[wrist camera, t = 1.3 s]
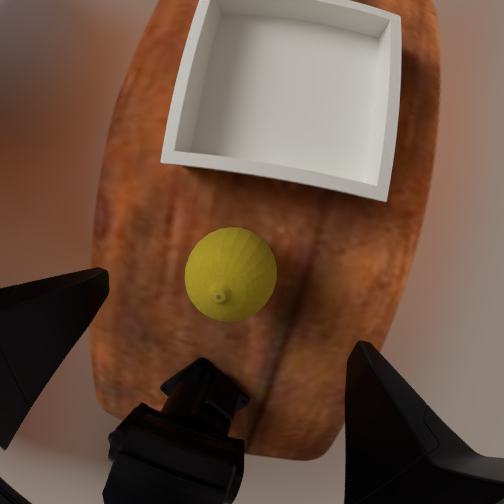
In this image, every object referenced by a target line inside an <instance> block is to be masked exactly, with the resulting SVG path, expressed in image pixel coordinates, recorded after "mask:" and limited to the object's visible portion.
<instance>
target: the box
mask: <svg viewBox="0 0 504 504" xmlns="http://www.w3.org/2000/svg"><path fill="white" fill-rule="evenodd" d="M400 87H401V16H399V15H396V14H393V13H390V12H387V11H384V10H381V9H378V8H375V7H371V6H368V5H365V4H361V3H357V2H354V1H350V0H199V3H198V6H197V9H196V12H195V15H194V18H193V22H192V25H191V28H190V31H189V35H188V38H187V42H186V45H185V49H184V53H183V56H182V60H181V64H180V68H179V72H178V76H177V80H176V84H175V89H174V93H173V98H172V102H171V107H170V112H169V117H168V122H167V127H166V133H165V138H164V144H163V150H162V156H161V163H166V164H172V165H178V166H185V167H194V168H202V169H210V170H217V171H225V172H232V173H238V174H245V175H251V176H257V177H264V178H269V179H275V180H281V181H286V182H292V183H297V184H302V185H307V186H312V187H317V188H322V189H327V190H332V191H336V192H341V193H345V194H350V195H354V196H358V197H362V198H367V199H372V200H377V201H383V202H387V196H388V191H389V185H390V179H391V173H392V166H393V159H394V152H395V144H396V136H397V126H398V116H399V103H400Z"/></svg>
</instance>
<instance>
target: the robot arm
mask: <svg viewBox="0 0 504 504" xmlns="http://www.w3.org/2000/svg"><path fill="white" fill-rule="evenodd" d="M108 294H109V274H108V271H107V270H105V269H102V268H99V267H96V268H92V269H87V270H82V271H78V272H73V273H68V274H63V275H59V276H54V277H50V278H46V279H41V280H36V281H32V282H27V283H23V284H19V285H13V286H9V287H4V288H0V447H1V448H2V449H3V450H6V449H7V447H8V446H9V444H10V442H11V440H12V439H13V437H14V435H15V433H16V431H17V430H18V428H19V427H20V425H21V423H22V422H23V420H24V418H25V417H26V415H27V414H28V412H29V411H30V407H32V406H33V404H34V402H35V401H36V399H37V398H38V396H39V395H40V393H41V392H42V390H43V388H44V387H45V386H46V384H47V383H48V381H49V380H50V378H51V377H52V375H53V374H54V373H55V371H56V370H57V368H58V367H59V365H60V364H61V363H62V361H63V360H64V359H65V357H66V355H67V354H68V353H69V352H70V350H71V349H72V348H73V346H74V345H75V344H76V342H77V341H78V339H79V338H80V337H81V335H82V334H83V333H84V331H85V330H86V329H87V328H88V326H89V325H90V323H91V322H92V320H93V318H94V317H95V315H96V314H97V312H98V310H99V309H100V307H101V306H102V304H103V302H104V301H105V299H106V298H107V296H108ZM200 362H202V363H203V364H200ZM166 388H167V389H166ZM160 389H161V390H162V392H164V393H165V394H166V395H167V396H168V399H167V401H166V403H165V405H164V406H163V408H162V410H161V412H160V411H157V410H155V409H153V408H151V407H148V405H147V404H144V403H141V404H140V405H139V406H138V407H137V408H135V409H134V410H133V411H132V412H131V413H130V414H129V415H128V416H127V417H126V418H125V419H124V420H123V421H122V423H121V424H120V425H119V426H118V427H117V428H116V430H115V431H113V432H111V433H110V434H109V437H108V440H109V443H110V450H109V454H108V459H109V461H111V462H113V464H112V467H111V470H110V473H109V476H108V479H107V482H106V485H105V488H104V490H103V493H102V495H103V500H104V504H232V503H233V501H234V500H235V498H236V496H237V493H238V491H239V488H240V485H241V482H242V478H243V473H244V440H242V439H234V438H231V437H228V432H229V428H230V424H231V421H232V420H233V418H234V414H235V411H237V410H239V409H241V408H243V407H245V406H246V405H248V404H249V402H250V398H249V397H248V396H247V395H246V394H245V393H243V392H242V391H241V390H240V389H239V388H238V387H237V386H236V385H235V384H234V383H232V382H231V381H230V380H229V379H228V378H227V377H226V376H224V375H223V374H222V373H221V372H219V371H218V370H217V369H216V368H215V367H214V366H213V365H211V364H210V363H209V362H208V361H207V360H206V359H205V358H198V359H197V360H195V361H194V362H193V363H191V364H190V365H188V366H187V367H186V368H184V369H183V370H181V371H180V372H179V373H177V374H176V375H174V376H173V377H171V378H170V379H169V380H167V381H166V382H164V383H163V384H162V385H161V387H160ZM243 400H246V401H243ZM345 435H346V438H345V439H346V464H345V465H346V466H345V470H346V471H345V498H344V504H504V458H495V457H486V456H483V455H480V454H478V453H477V452H475V451H474V450H473V449H471V448H470V447H469V446H468V445H467V444H466V443H465V442H464V441H463V440H462V439H461V438H460V437H458V435H457V434H456V433H454V432H453V431H452V430H451V429H450V428H449V427H448V426H447V425H446V424H445V423H444V422H443V421H442V420H441V419H440V418H439V417H438V416H437V415H436V413H435V412H434V411H433V410H432V409H431V408H430V407H429V406H428V405H427V404H426V402H425V401H424V400H423V399H422V398H421V397H420V396H419V395H418V394H417V393H416V392H415V390H414V389H413V388H412V387H411V386H410V385H409V384H408V383H407V382H406V381H405V379H404V378H403V377H402V376H401V375H400V374H399V373H398V372H397V371H396V370H395V369H394V368H393V367H392V365H391V364H390V363H389V362H388V361H387V360H386V359H385V358H384V357H383V356H382V355H381V354H380V353H379V352H378V350H377V349H376V348H375V347H374V346H373V345H372V344H371V343H370V342H366V341H358V342H357V343H356V345H355V347H354V349H353V351H352V352H351V354H350V356H349V358H348V361H347V372H346V387H345ZM0 504H32V503H31V502H29V501H28V500H27V499H25V498H24V497H23V496H22V495H20V494H19V493H18V492H17V491H16V490H14V489H13V488H12V487H11V486H10V485H8V484H7V483H6V482H5V481H4V480H3V479H2V478H1V477H0Z"/></svg>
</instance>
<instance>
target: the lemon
mask: <svg viewBox="0 0 504 504" xmlns="http://www.w3.org/2000/svg"><path fill="white" fill-rule="evenodd" d="M276 280H277V265H276V261H275V257H274V254H273V252H272V251H271V249H270V247H269V245H268V244H267V243H266V242H265V241H264V240H263V239H262V238H261V237H260V236H258V235H257V234H255V233H254V232H252V231H249V230H246V229H243V228H235V227H229V228H223V229H218V230H216V231H214V232H212V233H210V234H208V235H207V236H205V237H204V238H203V239H202V240H201V241H200V242H198V244H197V245H196V246H195V248H194V249H193V251H192V252H191V254H190V256H189V259H188V262H187V265H186V269H185V284H186V289H187V293H188V295H189V297H190V299H191V301H192V303H193V304H194V305H195V306H196V308H197V309H198V310H199V311H201V312H202V313H203V314H204V315H206V316H208V317H210V318H212V319H214V320H218V321H222V322H236V321H240V320H244V319H247V318H248V317H250V316H252V315H254V314H256V313H257V312H258V311H259V310H260V309H261V308H262V307H263V306H264V305H265V304H266V303H267V301H268V300H269V298H270V297H271V295H272V293H273V291H274V287H275V284H276Z"/></svg>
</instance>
